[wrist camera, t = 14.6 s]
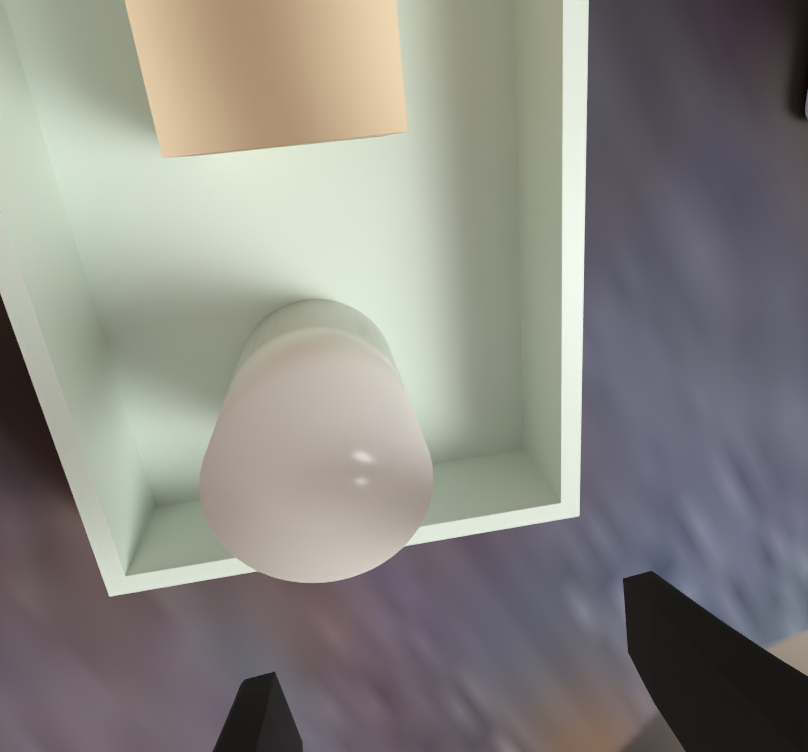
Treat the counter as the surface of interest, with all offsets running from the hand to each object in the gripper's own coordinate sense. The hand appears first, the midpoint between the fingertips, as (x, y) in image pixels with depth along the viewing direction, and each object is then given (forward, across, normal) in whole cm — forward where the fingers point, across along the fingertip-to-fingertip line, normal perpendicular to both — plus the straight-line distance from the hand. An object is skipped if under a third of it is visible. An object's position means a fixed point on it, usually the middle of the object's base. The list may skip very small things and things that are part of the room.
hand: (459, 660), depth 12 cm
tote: (+10, +1, -8) cm, 13 cm away
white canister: (+9, +2, -3) cm, 10 cm away
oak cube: (+9, +1, -13) cm, 16 cm away
